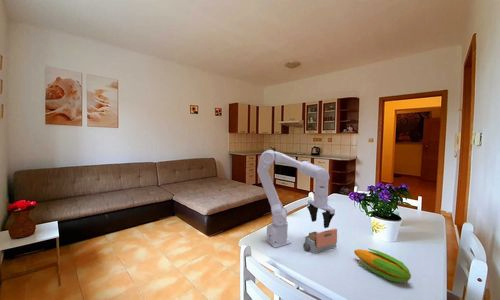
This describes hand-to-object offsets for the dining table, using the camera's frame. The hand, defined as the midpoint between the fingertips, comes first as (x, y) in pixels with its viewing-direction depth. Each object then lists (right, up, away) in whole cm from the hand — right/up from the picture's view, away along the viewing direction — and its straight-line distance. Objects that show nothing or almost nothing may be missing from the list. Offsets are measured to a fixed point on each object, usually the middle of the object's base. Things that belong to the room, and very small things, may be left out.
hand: (319, 224), depth 99 cm
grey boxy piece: (0, -10, 0) cm, 10 cm away
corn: (+16, -12, -17) cm, 27 cm away
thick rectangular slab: (+2, -8, -4) cm, 9 cm away
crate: (-3, -8, -2) cm, 8 cm away
